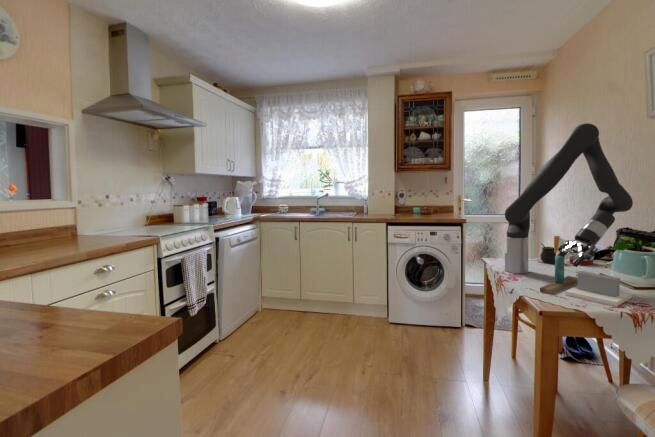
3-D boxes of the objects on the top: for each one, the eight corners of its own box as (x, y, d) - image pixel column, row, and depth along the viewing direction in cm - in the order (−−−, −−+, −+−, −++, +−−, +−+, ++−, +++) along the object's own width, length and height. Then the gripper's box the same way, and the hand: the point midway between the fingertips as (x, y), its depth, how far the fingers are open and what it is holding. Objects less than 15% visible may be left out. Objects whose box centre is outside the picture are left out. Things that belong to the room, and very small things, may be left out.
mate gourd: (552, 264, 173) (552, 245, 172) (537, 262, 180) (536, 244, 179) (559, 262, 177) (559, 243, 176) (543, 260, 183) (543, 242, 182)
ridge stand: (564, 294, 131) (565, 274, 130) (581, 287, 138) (581, 268, 137) (616, 306, 117) (617, 283, 116) (632, 297, 124) (632, 276, 124)
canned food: (589, 271, 174) (601, 255, 170) (585, 273, 167) (597, 257, 163) (566, 258, 181) (578, 243, 177) (561, 260, 174) (573, 244, 170)
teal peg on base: (539, 292, 136) (540, 260, 134) (568, 280, 148) (568, 251, 147) (549, 294, 133) (549, 262, 131) (577, 282, 145) (578, 252, 144)
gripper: (570, 225, 146) (546, 253, 146) (601, 229, 132) (574, 261, 132) (581, 236, 148) (557, 264, 147) (612, 242, 133) (586, 273, 133)
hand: (565, 263), depth 140 cm, fingers open, 8 cm apart
